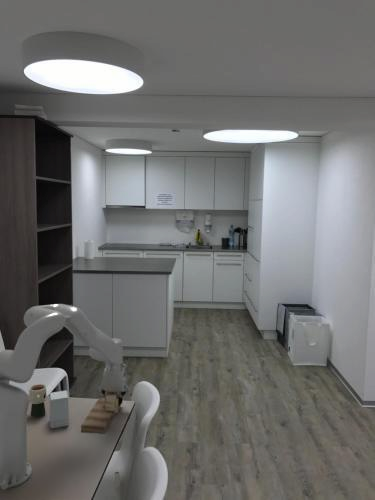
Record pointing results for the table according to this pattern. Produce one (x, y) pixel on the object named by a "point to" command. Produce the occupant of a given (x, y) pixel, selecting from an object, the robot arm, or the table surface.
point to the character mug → (37, 399)
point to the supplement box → (58, 409)
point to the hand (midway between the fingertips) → (113, 403)
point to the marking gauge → (112, 401)
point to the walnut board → (98, 418)
